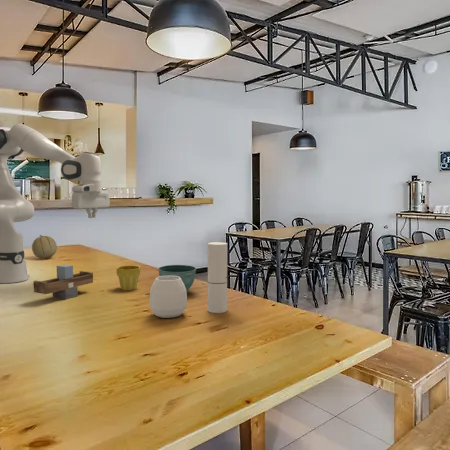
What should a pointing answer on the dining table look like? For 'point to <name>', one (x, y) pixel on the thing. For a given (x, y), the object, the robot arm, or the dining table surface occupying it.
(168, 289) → the white vase
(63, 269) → the block
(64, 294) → the beam
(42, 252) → the cantaloupe
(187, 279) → the flower pot
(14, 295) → the dining table surface
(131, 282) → the plant pot
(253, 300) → the dining table surface
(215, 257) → the cylindrical container
